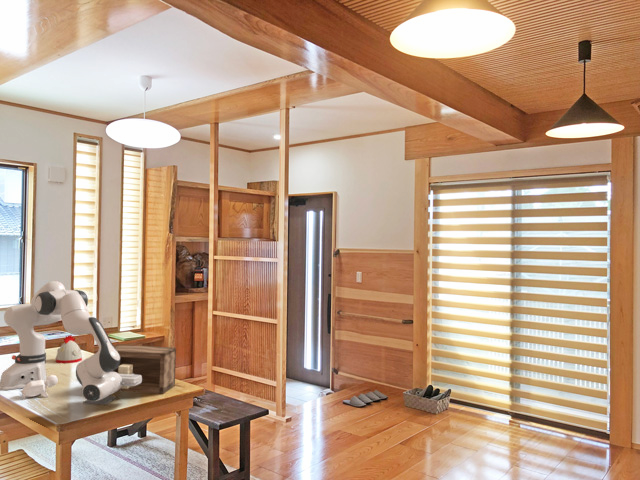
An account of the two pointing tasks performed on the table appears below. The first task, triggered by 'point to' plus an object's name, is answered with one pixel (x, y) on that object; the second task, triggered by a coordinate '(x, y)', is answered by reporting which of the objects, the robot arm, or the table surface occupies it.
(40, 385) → the white animal figurine
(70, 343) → the kitchen timer
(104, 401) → the slate mat
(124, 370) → the beech block
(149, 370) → the brown wooden box
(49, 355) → the table surface
